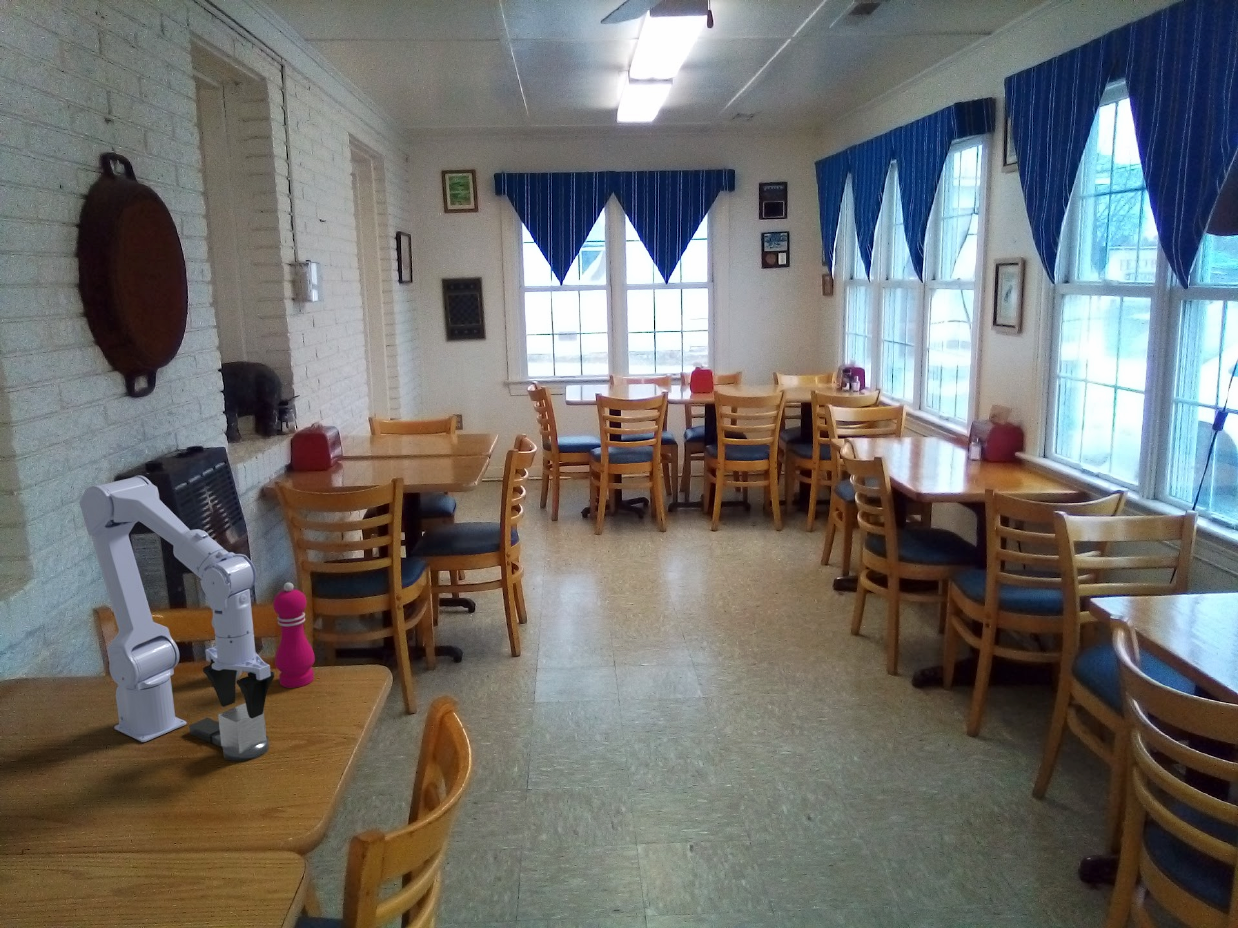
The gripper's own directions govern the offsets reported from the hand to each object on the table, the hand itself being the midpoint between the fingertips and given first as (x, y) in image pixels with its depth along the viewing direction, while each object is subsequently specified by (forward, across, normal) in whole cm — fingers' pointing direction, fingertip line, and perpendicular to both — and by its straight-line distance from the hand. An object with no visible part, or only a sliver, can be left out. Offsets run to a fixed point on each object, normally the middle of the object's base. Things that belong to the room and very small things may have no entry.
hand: (242, 709), depth 152 cm
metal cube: (+6, 0, 0) cm, 6 cm away
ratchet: (+7, -5, 0) cm, 9 cm away
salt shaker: (+8, -29, +16) cm, 34 cm away
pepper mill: (+8, -16, +22) cm, 28 cm away
